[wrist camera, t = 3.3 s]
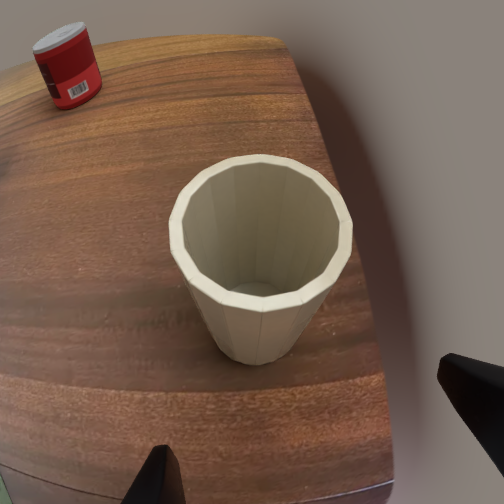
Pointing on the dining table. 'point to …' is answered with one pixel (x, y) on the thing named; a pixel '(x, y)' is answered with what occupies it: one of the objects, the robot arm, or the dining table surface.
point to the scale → (4, 493)
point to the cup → (259, 251)
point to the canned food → (68, 65)
